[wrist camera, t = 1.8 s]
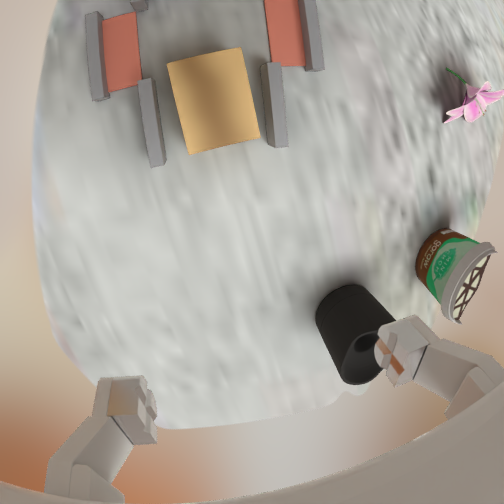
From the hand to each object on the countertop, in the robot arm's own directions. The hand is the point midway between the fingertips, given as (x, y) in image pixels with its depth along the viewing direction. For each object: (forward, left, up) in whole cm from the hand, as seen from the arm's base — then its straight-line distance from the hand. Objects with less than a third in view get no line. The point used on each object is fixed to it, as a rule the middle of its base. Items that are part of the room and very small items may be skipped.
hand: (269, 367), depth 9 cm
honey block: (-1, -9, -23) cm, 25 cm away
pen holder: (-15, +19, -23) cm, 34 cm away
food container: (-29, +13, -23) cm, 39 cm away
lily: (-32, -9, -23) cm, 41 cm away
